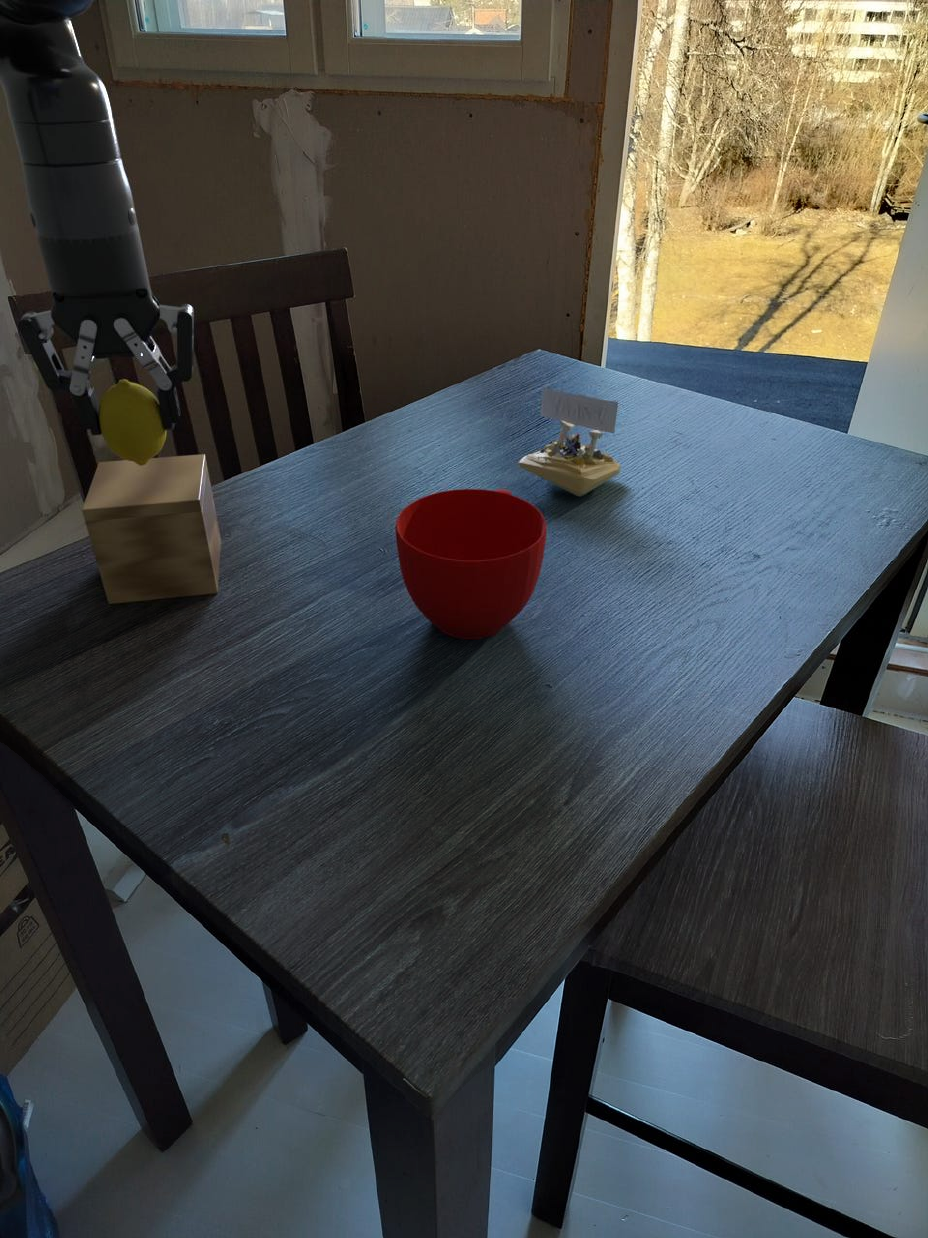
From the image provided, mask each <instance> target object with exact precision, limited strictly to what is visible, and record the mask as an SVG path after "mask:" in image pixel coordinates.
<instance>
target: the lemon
mask: <svg viewBox="0 0 928 1238" xmlns="http://www.w3.org/2000/svg"><path fill="white" fill-rule="evenodd" d="M98 406H99V425H100V429H101V433H102V434H101V436H102V438H103V440H104V442H105V443H106V445H107V447H108V448H109V449H110V451H111V452H112V453H113V454H114V455H115V456H118V457H119V458H121V460H128V461H133V462H135V463H136V464H138V465H140V466H143V465H146V463H147V462H148V461H149V459H151V458H155V457H156V456H157V455H158V454H160V452H161V451H162V449H163V448H164V445H165V443H166V439H167V431H168V430H165V428H164V424H163V419H162V414H161V409H160V405H159V400H158V398H157V397H156V396H155V394H154V393H153V392H152V391H150V390H149V389H148V388H146V387H145V386H143V385H141V384H138V383H136V382H132V381H131V382H130V381H129V380H128V379H125V378H123V379H119V381H118V383H116V384H114V385H112V386H111V387H109V388H108V389H107V390H106V391H105V392H104V394H103V395H102V396H101V399H100V401H99V405H98Z"/></svg>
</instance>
